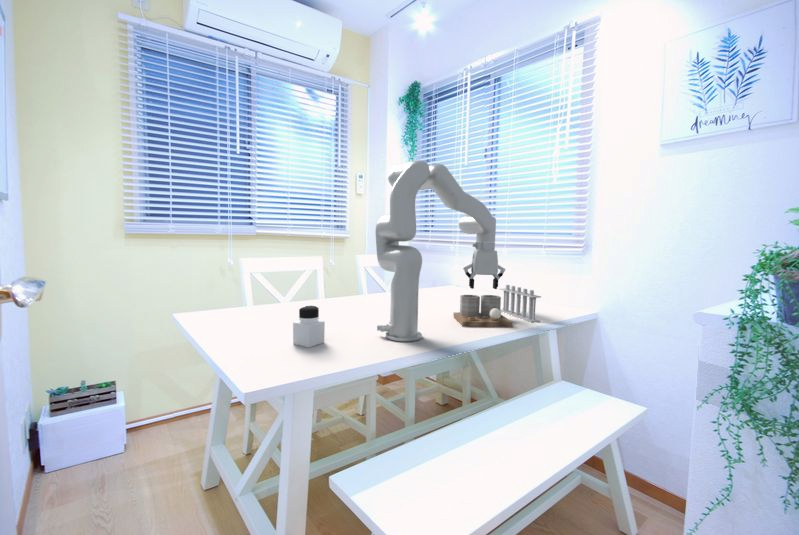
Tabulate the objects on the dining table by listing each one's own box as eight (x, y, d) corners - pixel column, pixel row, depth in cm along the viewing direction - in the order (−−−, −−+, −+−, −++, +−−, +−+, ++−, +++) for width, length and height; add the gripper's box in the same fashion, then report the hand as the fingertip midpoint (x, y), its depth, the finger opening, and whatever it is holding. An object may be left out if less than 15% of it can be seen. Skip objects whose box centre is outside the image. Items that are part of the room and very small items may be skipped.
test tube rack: (498, 311, 180) (499, 284, 179) (506, 311, 181) (507, 283, 180) (531, 323, 156) (532, 291, 155) (540, 322, 158) (541, 291, 157)
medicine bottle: (324, 342, 122) (325, 306, 121) (309, 348, 116) (309, 309, 115) (308, 339, 125) (308, 303, 124) (292, 344, 119) (292, 306, 118)
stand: (462, 326, 147) (463, 301, 146) (453, 316, 165) (454, 294, 164) (512, 327, 148) (513, 302, 147) (498, 317, 166) (499, 294, 165)
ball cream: (491, 320, 149) (491, 309, 148) (487, 318, 153) (488, 307, 153) (502, 320, 149) (502, 309, 148) (498, 318, 153) (499, 307, 153)
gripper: (466, 246, 148) (465, 289, 150) (509, 247, 150) (507, 290, 151) (462, 246, 156) (460, 287, 157) (502, 247, 157) (500, 287, 159)
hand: (483, 288), depth 154 cm, fingers open, 9 cm apart
